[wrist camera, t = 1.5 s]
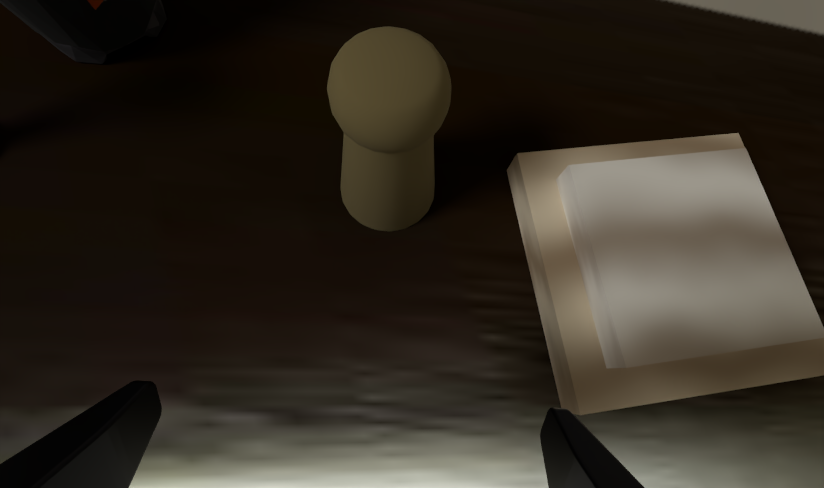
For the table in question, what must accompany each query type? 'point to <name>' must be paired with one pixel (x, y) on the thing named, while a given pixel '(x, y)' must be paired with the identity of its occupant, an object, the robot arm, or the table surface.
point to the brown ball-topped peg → (388, 124)
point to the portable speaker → (90, 24)
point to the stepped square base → (661, 273)
